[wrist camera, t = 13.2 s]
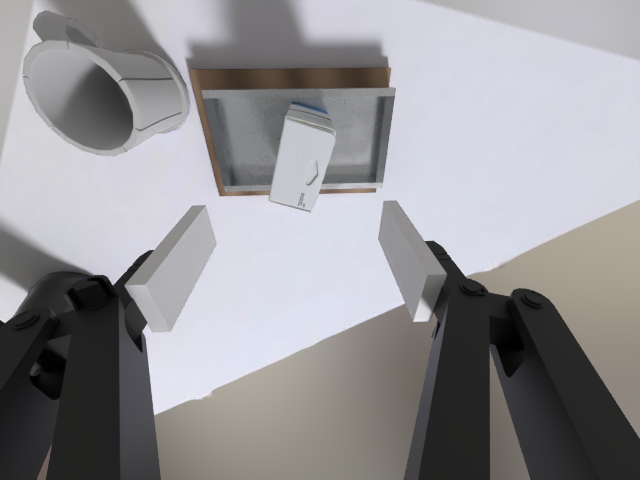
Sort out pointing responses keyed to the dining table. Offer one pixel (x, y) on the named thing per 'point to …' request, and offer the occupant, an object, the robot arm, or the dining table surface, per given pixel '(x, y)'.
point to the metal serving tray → (267, 123)
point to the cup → (100, 89)
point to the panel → (278, 79)
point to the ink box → (302, 157)
